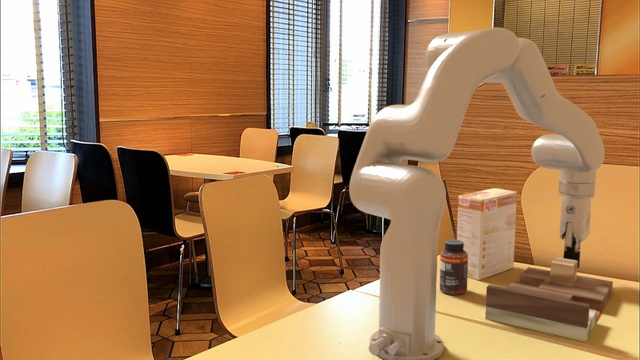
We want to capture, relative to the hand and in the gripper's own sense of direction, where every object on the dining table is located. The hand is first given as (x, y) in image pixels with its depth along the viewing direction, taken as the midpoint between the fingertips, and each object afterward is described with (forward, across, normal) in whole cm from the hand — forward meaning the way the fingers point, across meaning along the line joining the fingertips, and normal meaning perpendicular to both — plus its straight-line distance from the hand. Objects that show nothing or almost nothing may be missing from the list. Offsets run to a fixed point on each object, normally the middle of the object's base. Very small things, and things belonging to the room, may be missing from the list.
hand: (571, 267), depth 130 cm
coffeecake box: (+4, -3, +19) cm, 20 cm away
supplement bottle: (+4, -21, +20) cm, 29 cm away
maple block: (+1, -8, 0) cm, 8 cm away
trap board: (+4, -17, 0) cm, 17 cm away
